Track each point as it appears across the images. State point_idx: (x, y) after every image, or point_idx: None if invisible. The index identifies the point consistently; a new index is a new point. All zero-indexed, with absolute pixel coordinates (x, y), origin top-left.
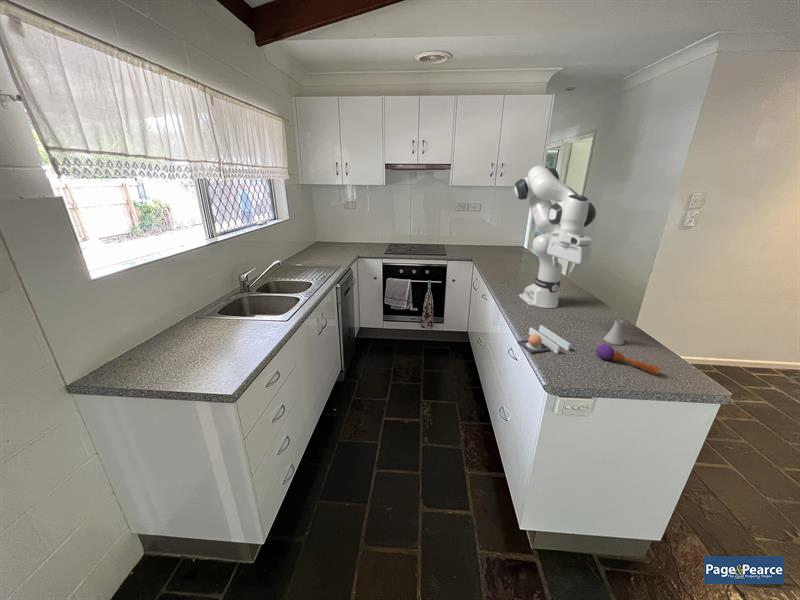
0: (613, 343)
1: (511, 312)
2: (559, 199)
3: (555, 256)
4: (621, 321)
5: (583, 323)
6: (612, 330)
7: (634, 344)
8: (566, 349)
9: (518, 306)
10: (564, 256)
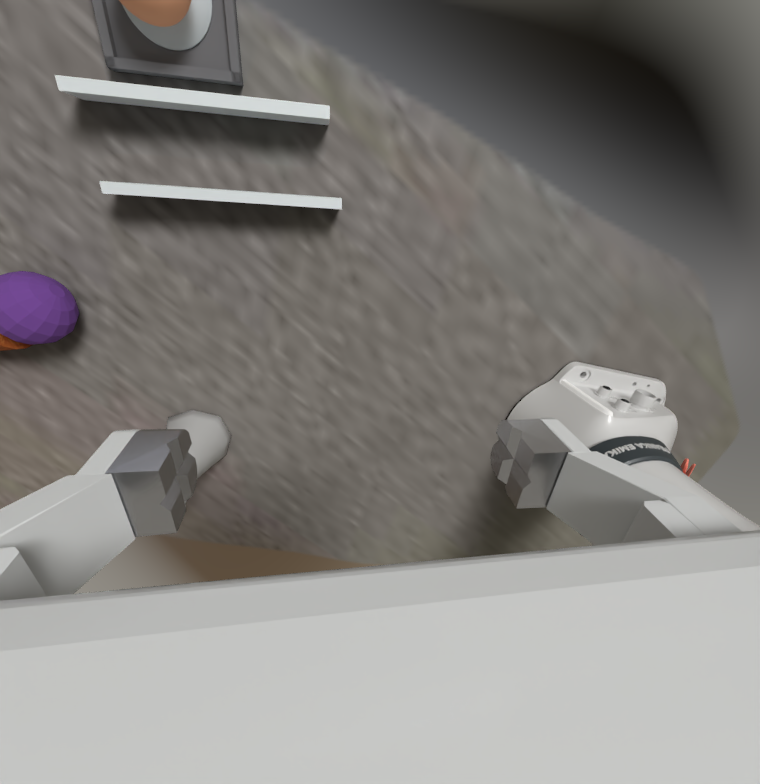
0: (168, 420)
1: (561, 217)
2: None
3: (655, 540)
4: None
5: (356, 442)
6: None
7: None
8: (125, 182)
9: (590, 304)
10: (289, 681)
